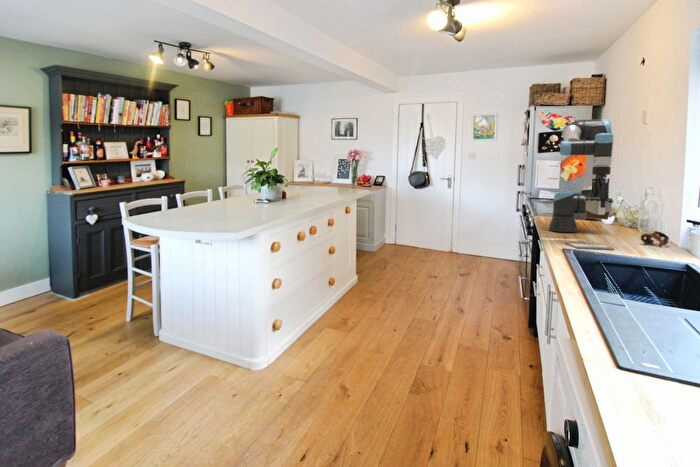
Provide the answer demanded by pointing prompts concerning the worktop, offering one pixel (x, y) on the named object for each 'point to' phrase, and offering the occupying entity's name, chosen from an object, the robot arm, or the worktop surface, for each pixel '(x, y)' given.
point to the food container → (593, 205)
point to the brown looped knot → (655, 236)
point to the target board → (589, 246)
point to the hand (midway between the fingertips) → (597, 213)
